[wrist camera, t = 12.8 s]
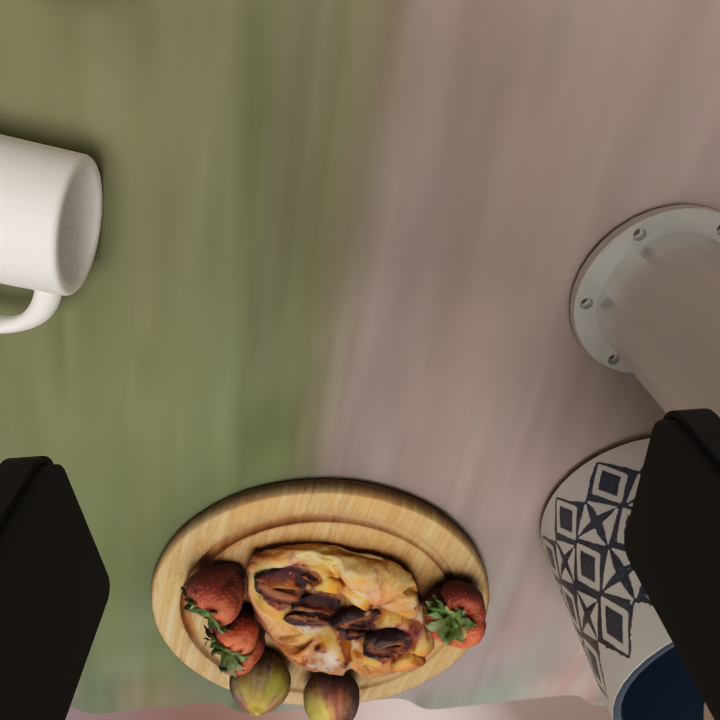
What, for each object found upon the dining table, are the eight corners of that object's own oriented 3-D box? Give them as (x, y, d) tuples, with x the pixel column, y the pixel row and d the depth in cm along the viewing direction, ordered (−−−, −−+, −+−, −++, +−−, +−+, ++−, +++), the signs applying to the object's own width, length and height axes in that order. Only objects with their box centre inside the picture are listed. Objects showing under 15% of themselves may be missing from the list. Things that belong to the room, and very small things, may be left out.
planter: (557, 433, 49) (652, 610, 35) (772, 427, 50) (948, 598, 36) (523, 580, 58) (587, 765, 44) (704, 573, 59) (822, 753, 45)
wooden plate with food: (507, 468, 51) (535, 544, 44) (466, 685, 67) (481, 765, 60) (127, 471, 50) (92, 549, 43) (179, 690, 66) (160, 773, 59)
